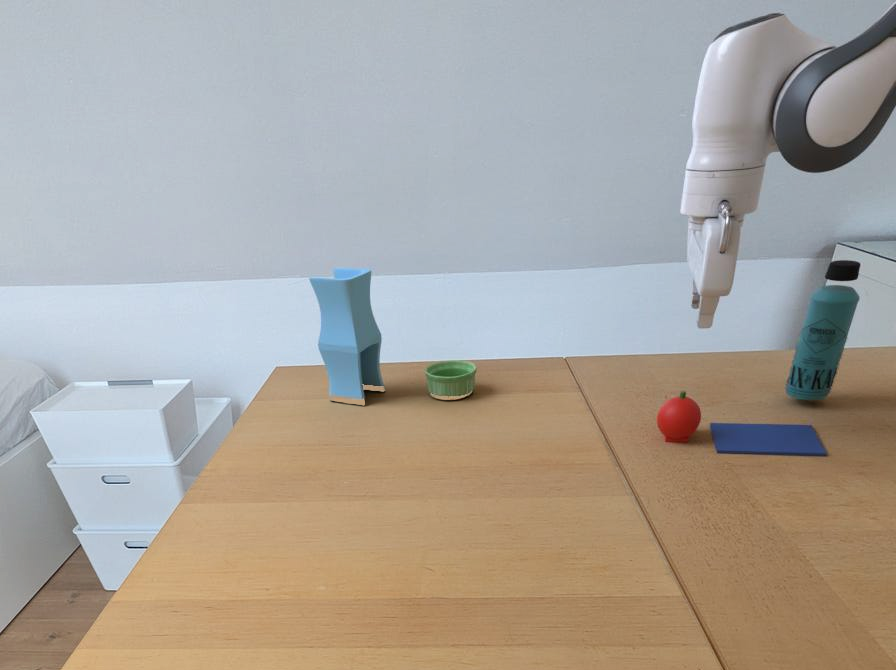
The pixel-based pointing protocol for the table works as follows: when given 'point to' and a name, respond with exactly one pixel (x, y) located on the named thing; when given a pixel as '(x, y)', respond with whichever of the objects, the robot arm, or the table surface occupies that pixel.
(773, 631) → the table surface
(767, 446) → the cloth
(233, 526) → the table surface
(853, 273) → the beverage bottle
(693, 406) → the red ball with base
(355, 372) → the vase
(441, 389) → the ramekin
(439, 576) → the table surface
